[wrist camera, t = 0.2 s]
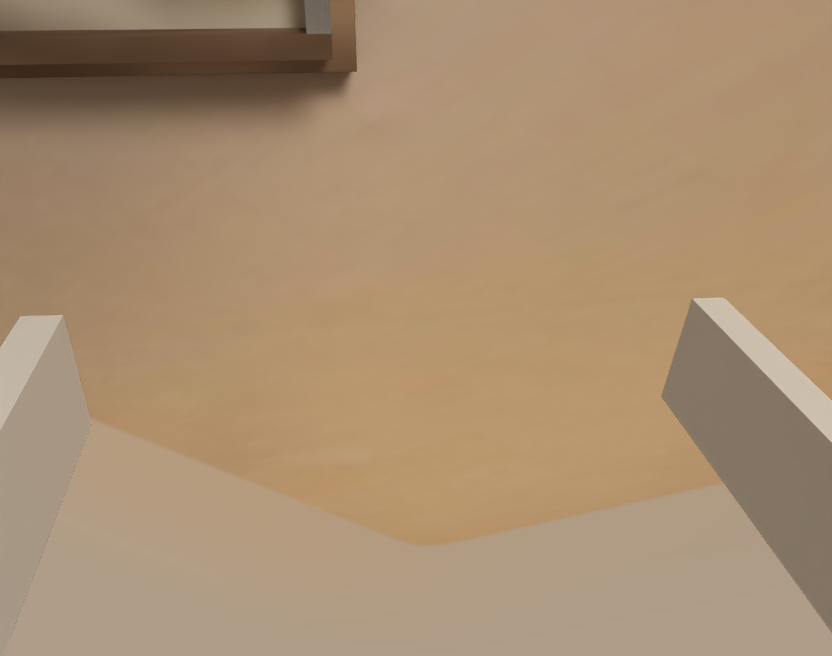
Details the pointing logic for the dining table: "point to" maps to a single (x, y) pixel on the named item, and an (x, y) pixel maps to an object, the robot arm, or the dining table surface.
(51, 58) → the tray
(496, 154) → the dining table surface
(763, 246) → the dining table surface
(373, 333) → the dining table surface
